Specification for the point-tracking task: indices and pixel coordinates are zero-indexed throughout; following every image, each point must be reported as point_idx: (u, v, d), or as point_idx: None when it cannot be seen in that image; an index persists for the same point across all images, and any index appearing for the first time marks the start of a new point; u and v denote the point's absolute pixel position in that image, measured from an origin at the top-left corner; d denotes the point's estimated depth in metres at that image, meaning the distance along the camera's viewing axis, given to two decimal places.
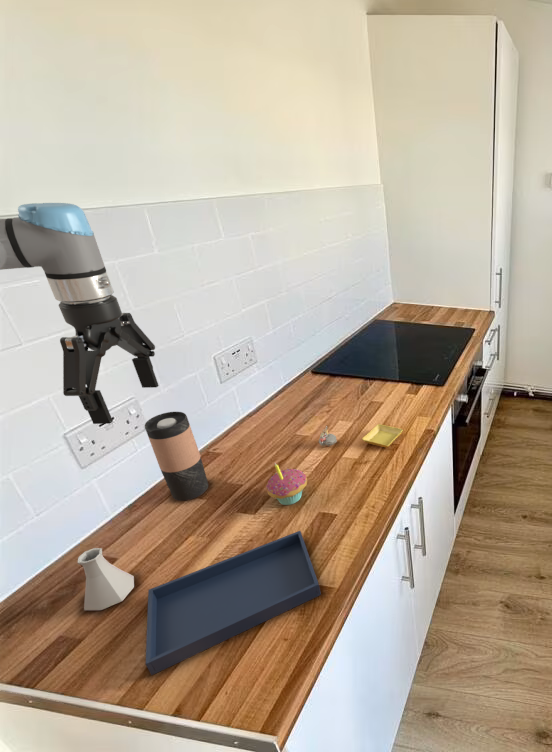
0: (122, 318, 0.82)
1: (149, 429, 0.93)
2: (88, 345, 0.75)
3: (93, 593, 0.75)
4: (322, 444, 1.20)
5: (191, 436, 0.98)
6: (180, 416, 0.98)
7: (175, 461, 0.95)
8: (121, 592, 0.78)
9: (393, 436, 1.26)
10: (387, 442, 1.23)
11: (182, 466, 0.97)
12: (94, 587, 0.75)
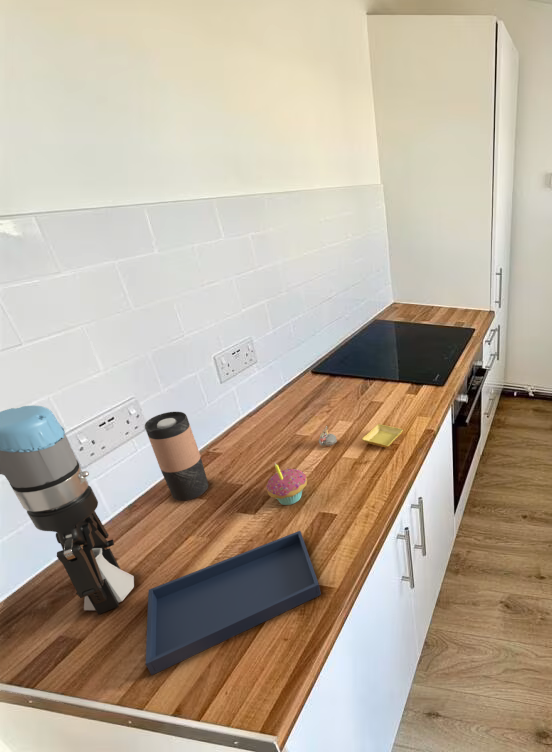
0: None
1: (149, 429, 0.93)
2: None
3: None
4: (322, 444, 1.20)
5: (191, 436, 0.98)
6: (180, 416, 0.98)
7: (175, 461, 0.95)
8: (121, 592, 0.78)
9: (393, 436, 1.26)
10: (387, 442, 1.23)
11: (182, 466, 0.97)
12: None
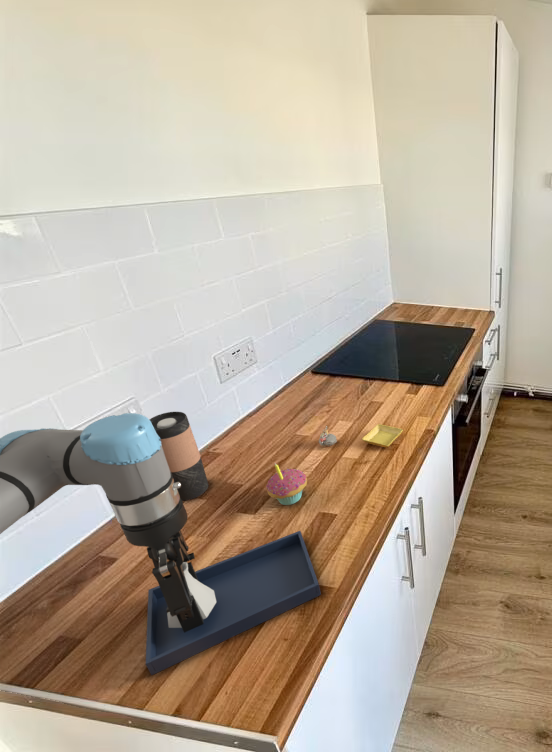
0: None
1: None
2: None
3: None
4: (322, 444, 1.20)
5: (191, 436, 0.98)
6: (180, 416, 0.98)
7: (175, 461, 0.95)
8: (205, 608, 0.74)
9: (393, 436, 1.26)
10: (387, 442, 1.23)
11: (182, 466, 0.97)
12: None
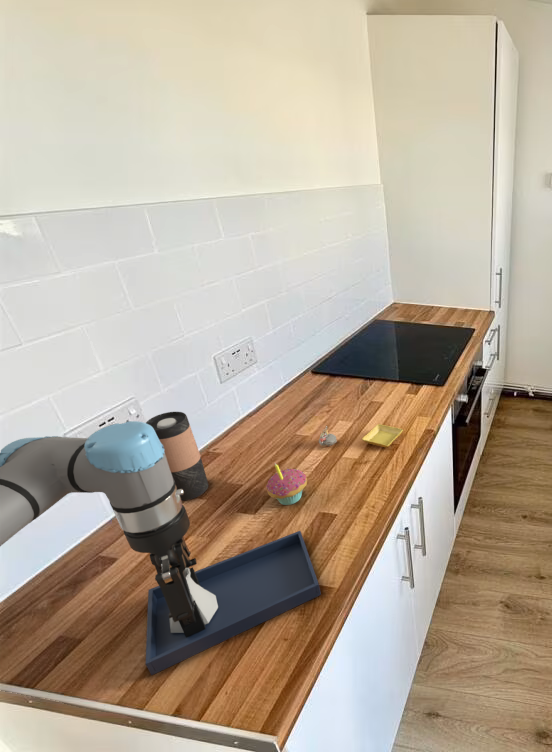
0: None
1: None
2: None
3: None
4: (322, 444, 1.20)
5: (191, 436, 0.98)
6: (180, 416, 0.98)
7: (175, 461, 0.95)
8: (207, 613, 0.75)
9: (393, 436, 1.26)
10: (387, 442, 1.23)
11: (182, 466, 0.97)
12: None
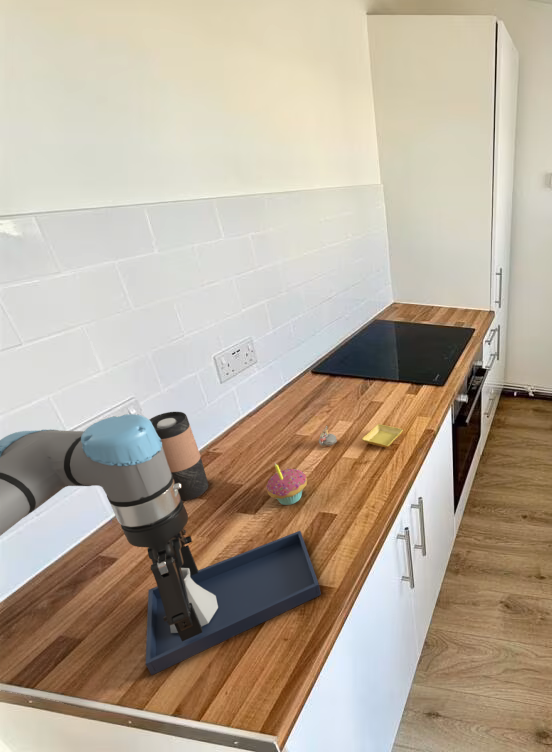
0: None
1: None
2: None
3: None
4: (322, 444, 1.20)
5: (191, 436, 0.98)
6: (180, 416, 0.98)
7: (175, 461, 0.95)
8: (207, 613, 0.75)
9: (393, 436, 1.26)
10: (387, 442, 1.23)
11: (182, 466, 0.97)
12: None
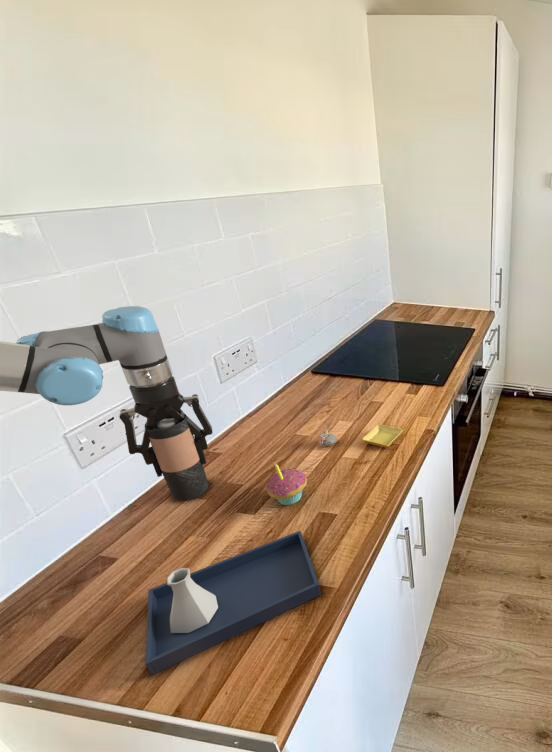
0: (190, 400, 0.96)
1: None
2: None
3: (181, 615, 0.72)
4: (322, 444, 1.20)
5: (191, 436, 0.98)
6: None
7: (175, 461, 0.95)
8: (207, 613, 0.75)
9: (393, 436, 1.26)
10: (387, 442, 1.23)
11: (182, 466, 0.97)
12: (182, 609, 0.72)
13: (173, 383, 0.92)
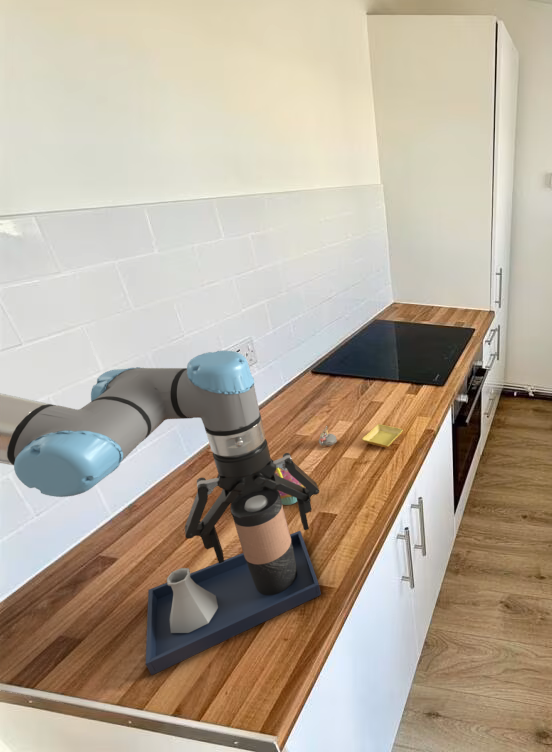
0: (283, 463, 0.74)
1: (236, 513, 0.72)
2: None
3: (181, 615, 0.72)
4: (322, 444, 1.20)
5: (284, 517, 0.77)
6: (270, 492, 0.77)
7: (266, 551, 0.75)
8: (207, 613, 0.75)
9: (393, 436, 1.26)
10: (387, 442, 1.23)
11: (273, 556, 0.76)
12: (182, 609, 0.72)
13: (266, 448, 0.70)
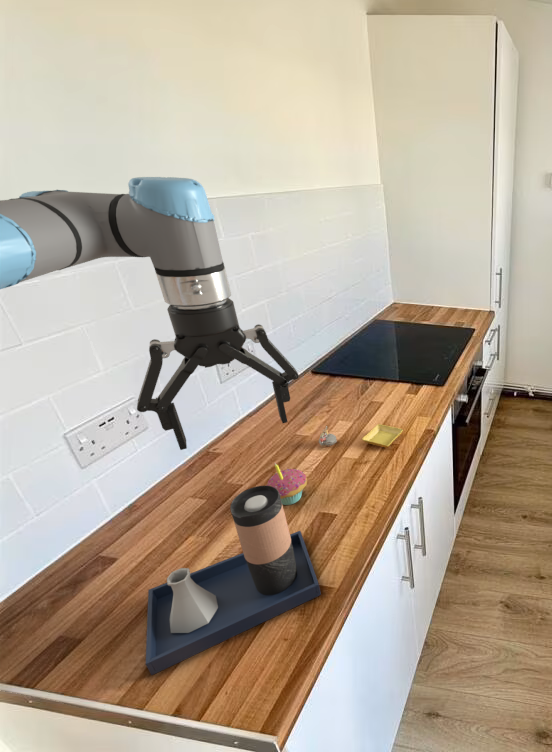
0: (254, 334, 0.64)
1: (236, 513, 0.72)
2: None
3: (181, 615, 0.72)
4: (322, 444, 1.20)
5: (284, 517, 0.77)
6: (270, 492, 0.77)
7: (266, 551, 0.75)
8: (207, 613, 0.75)
9: (393, 436, 1.26)
10: (387, 442, 1.23)
11: (273, 556, 0.76)
12: (182, 609, 0.72)
13: (232, 308, 0.60)
